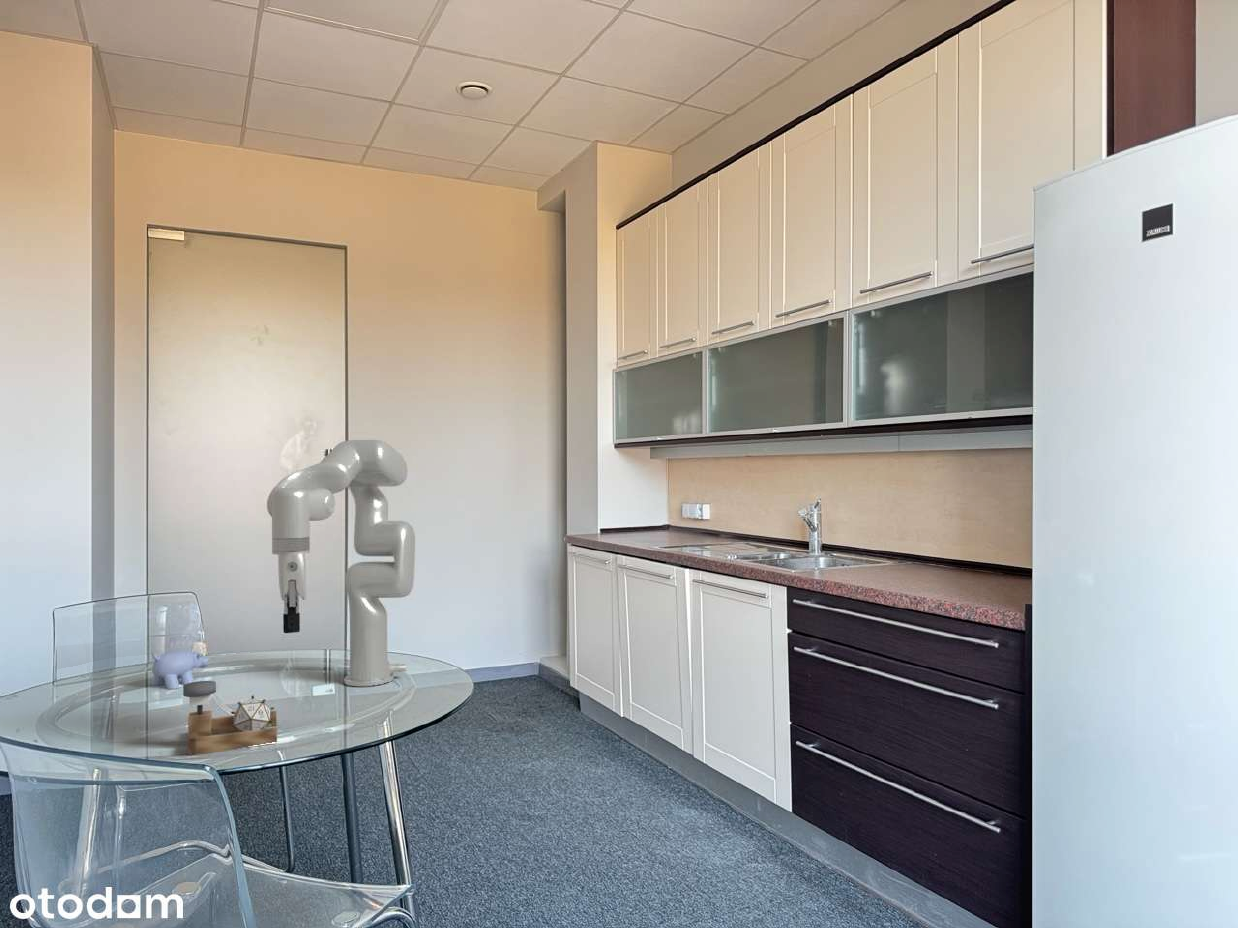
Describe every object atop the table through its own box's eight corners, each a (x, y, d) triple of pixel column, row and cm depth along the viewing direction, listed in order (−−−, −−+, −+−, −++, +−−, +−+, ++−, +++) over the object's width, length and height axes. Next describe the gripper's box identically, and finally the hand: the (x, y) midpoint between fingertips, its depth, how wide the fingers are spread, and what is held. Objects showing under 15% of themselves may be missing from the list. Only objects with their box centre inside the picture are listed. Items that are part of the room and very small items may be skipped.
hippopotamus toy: (218, 679, 222) (218, 644, 222) (162, 692, 210) (162, 655, 210) (195, 674, 228) (195, 640, 228) (140, 686, 215) (140, 650, 215)
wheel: (216, 697, 173) (216, 679, 173) (215, 704, 167) (215, 686, 167) (184, 700, 170) (184, 682, 170) (181, 708, 165) (181, 689, 165)
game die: (248, 751, 174) (250, 706, 180) (283, 738, 173) (283, 693, 179) (218, 742, 167) (221, 695, 173) (254, 728, 166) (255, 682, 171)
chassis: (276, 724, 181) (276, 688, 181) (276, 743, 168) (276, 705, 168) (192, 734, 174) (191, 697, 174) (185, 755, 161) (185, 715, 161)
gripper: (312, 548, 171) (312, 636, 170) (307, 543, 184) (308, 625, 184) (272, 549, 167) (273, 639, 167) (271, 544, 181) (271, 627, 181)
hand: (291, 631), depth 176 cm, fingers closed
